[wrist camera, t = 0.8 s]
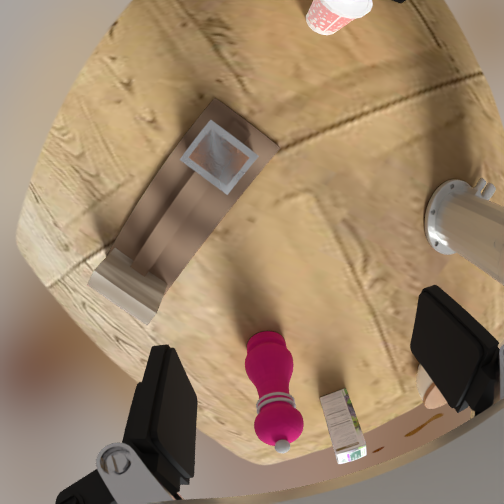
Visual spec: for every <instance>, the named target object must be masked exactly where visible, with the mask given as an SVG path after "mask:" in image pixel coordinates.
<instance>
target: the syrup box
mask: <svg viewBox="0 0 504 504" xmlns="http://www.w3.org/2000/svg"><path fill="white" fill-rule="evenodd" d="M320 401H321V405H322V408H323V412H324V416H325V419H326V423H327V427H328V430H329V434H330V437H331V441H332V445H333V448H334V451H335V455H336V459H337V462H338V464H342V463H346V462H350V461H353V460H356V459H359V458H361V457H363V456H365V455H366V442H365V439H364V436H363V433H362V431H361V428H360V425H359V422H358V419H357V417H356V414H355V411H354V408H353V406H352V403H351V400H350V398H349V395H348V392H347V390H346V389H345V388H344V389H342V390H339V391H336V392H333V393H331V394H328V395H325V396H323V397H320Z"/></svg>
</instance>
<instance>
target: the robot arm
mask: <svg viewBox="0 0 504 504" xmlns="http://www.w3.org/2000/svg"><path fill="white" fill-rule="evenodd" d="M485 185H486V181H485V180H484V179H483V178H480V179H479V181H478V183H477V185H476V186H475V187H473V188H472V187H471V186H470V185H469V184H468V183H466V182H464V181H461V180H457V179H452V180H448V181H446V182H444V183H443V184H441V185H440V186H439V187H438V188H437V189H436V191H435V192H434V193H433V195H432V197H431V199H430V201H429V203H428V206H427V210H426V214H425V233H426V237H427V240H428V242H429V244H430V245H431V247H433V248H434V249H435V250H436V251H438V252H439V253H441V254H445V255H450V254H454V253H458V254H459V255H461V256H462V257H464V258H465V259H467V260H468V261H470V262H471V263H473V264H474V265H476V266H477V267H478V268H480V269H481V270H483V271H484V272H485V273H487V274H488V275H490V276H491V277H492V278H494V279H495V280H497V281H498V282H499V283H501V284H502V285H503V286H504V207H503V206H501V205H499V204H496V203H494V202H491V201H489V199H490V198H491V197H492V195H493V194H494V192H495V190H496V188H495V187H494V185H493V184H491V183H487V185H486V186H485ZM484 186H485V188H484ZM483 188H484V190H483V192H482V194H481V193H480V192H481V190H482V189H483ZM498 344H499V342H498V341H497V340H496V339H495V338H494V337H493V336H492V335H491V334H490V333H489V332H488V331H487V330H486V329H485V328H484V327H483V326H482V325H481V324H480V323H479V322H478V321H477V320H475V319H474V318H473V317H472V316H471V315H470V314H469V313H468V312H467V311H466V310H465V309H464V308H462V307H461V306H460V305H459V304H458V303H457V302H456V301H455V300H453V299H452V298H451V297H450V296H449V295H448V294H447V293H445V292H444V291H443V290H442V289H441V288H440V287H438V286H437V285H433V286H430V287H427V288H424V289H423V290H422V292H421V294H420V295H419V299H418V306H417V312H416V318H415V323H414V329H413V334H412V339H411V344H410V348H411V351H412V353H413V355H414V356H415V357H416V359H417V360H418V361H419V363H420V364H421V365H422V367H423V368H424V370H425V371H426V372H427V374H428V375H429V377H430V378H431V379H432V381H433V382H434V384H435V385H436V387H437V388H438V390H439V391H440V392H441V394H442V395H443V397H444V398H445V400H446V401H447V403H448V404H449V406H450V407H451V408H455V409H456V411H457V413H459V412H460V411H462V410H464V409H466V408H467V407H468V406H470V408H471V416H470V420H469V421H467V422H466V423H464V424H462V425H460V426H459V427H457V428H455V429H453V430H452V431H450V432H448V433H447V434H444V435H443V436H441V437H439V438H437V439H435V440H433V441H431V442H429V443H427V444H425V445H423V446H421V447H418V448H416V449H415V450H412V451H410V452H408V453H405V454H403V455H401V456H398V457H396V458H393V459H391V460H389V461H386V462H383V463H381V464H378V465H376V466H373V467H370V468H367V469H364V470H361V471H358V472H355V473H352V474H349V475H345V476H342V477H338V478H335V479H331V480H327V481H324V482H320V483H315V484H311V485H307V486H302V487H298V488H292V489H287V490H282V491H276V492H269V493H263V494H254V495H246V496H237V497H226V498H210V499H190V500H185V499H184V498H183V497H182V496H181V495H180V494H179V493H178V492H179V491H180V485H181V484H182V485H183V484H184V485H189V479H190V478H192V477H194V465H195V440H196V420H197V396H196V393H195V391H194V389H193V387H192V385H191V383H190V381H189V379H188V377H187V375H186V372H185V370H184V368H183V366H182V364H181V361H180V359H179V357H178V355H177V352H176V350H175V349H174V348H170V346H169V345H159V346H153V347H152V348H151V352H150V355H149V359H148V362H147V366H146V369H145V373H144V377H143V380H142V382H139V383H138V384H137V386H136V390H135V393H134V397H133V401H132V405H131V408H130V413H129V416H128V420H127V424H126V428H125V433H124V437H123V441H122V443H112V444H109V445H107V446H105V447H104V448H103V449H102V450H101V451H100V452H99V454H98V456H97V459H96V466H97V469H96V470H95V471H93V472H91V473H90V474H88V475H87V476H85V477H83V478H82V479H80V480H79V481H77V482H76V483H74V484H72V485H71V486H69V487H68V488H66V489H64V490H63V491H62V492H60V493H59V495H58V496H57V499H56V504H504V345H503V346H502V347H501V348H500V349H499V348H498Z"/></svg>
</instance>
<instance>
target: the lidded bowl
mask: <svg viewBox="0 0 504 504" xmlns="http://www.w3.org/2000/svg"><path fill="white" fill-rule="evenodd" d="M416 386H417V389H418V392H419V395H420V397H421V399H422V400H423V403H424V405H425V406H426V407H427V408H430V409H433V408H437V407H440V406H442V405H444V404H446V403H447V401H446V400H445V398H444V397H443V395H442V394H441V392H440V391H439V390H438V388H437V387H436V385H435V384H434V382H433V381H432V379H431V378H430V377H429V375H428V374H427V372H426V371H425V370H424V368H423V367H422V365H421V364H419V366H418V372H417V376H416Z"/></svg>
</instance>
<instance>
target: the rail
mask: <svg viewBox="0 0 504 504" xmlns="http://www.w3.org/2000/svg"><path fill="white" fill-rule="evenodd" d="M210 120H212V121H213V122H215V123H216V124H217V125H219V126H220V127H221V128H223V129H224V130H226V131H227V132H228V133H230V134H231V135H232V136H234V137H235V138H236V139H237V140H239V141H240V142H241V143H243V144H244V145H245V146H247V147H248V148H249V149H250V150H252V151H253V152H254V153H256V154H257V155H258V156H259V157H258V158H257V159H256V160H255V161H254V163H253V164H252V165H251V166H250V168H249V169H248V170H247V171H246V172H245V174H244V175H243V176H242V177H241V179H240V180H239V181H238V182H237V184H236V185H235V186H234V187H233V189H232V190H231V191H230V192H229V194H228V195H227V194H225V193H224V192H223V191H221V190H220V189H219V188H217V187H216V186H214V185H213V184H212V183H210V182H209V181H208V180H206V179H205V178H204V177H202V176H201V175H200V174H198V173H197V172H196V171H194V170H193V169H191V168H190V167H189V166H187V165H186V164H185V163H183V162H182V161H180V158H181V157H182V156H183V154H184V153H185V152H186V150H187V149H188V148H189V146H190V145H191V144H192V142H193V141H194V140H195V138H196V137H197V136H198V135H199V133H200V132H201V131H202V130H203V128H204V127H205V126H206V124H207V123H208V122H209V121H210ZM279 149H280V147H279V146H277V145H276V144H275V143H274V142H272V141H271V140H270V139H269V138H267V137H266V136H265V135H264V134H262V133H261V132H260V131H259V130H257V129H256V128H255V127H254V126H252V125H251V124H250V123H248V122H247V121H246V120H244V119H243V118H242V117H240V116H239V115H238V114H236V113H235V112H234V111H232V110H231V109H230V108H228V107H227V106H226V105H224V104H223V103H221V102H220V101H219V100H217V99H216V98H214V99H213V100H212V102H211V103H210V104H209V105H208V106H207V108H206V109H205V110H204V111H203V113H202V114H201V115H200V116H199V118H198V119H197V120H196V121H195V123H194V124H193V125H192V126H191V128H190V129H189V130H188V132H187V133H186V134H185V136H184V137H183V138H182V139H181V141H180V142H179V143H178V145H177V146H176V148H175V149H174V150H173V152H172V153H171V154H170V156H169V157H168V159H167V160H166V161H165V163H164V164H163V166H162V167H161V169H160V170H159V171H158V173H157V174H156V176H155V177H154V179H153V180H152V182H151V183H150V185H149V186H148V188H147V189H146V191H145V192H144V194H143V196H142V197H141V199H140V200H139V202H138V203H137V205H136V207H135V208H134V210H133V211H132V213H131V215H130V216H129V218H128V220H127V221H126V223H125V225H124V226H123V228H122V230H121V231H120V233H119V235H118V237H117V238H116V240H115V242H114V244H113V245H112V247H111V249H110V251H109V253H108V254H107V256H106V258H105V259H104V260H103V261H102V262H101V263H100V264H99V265H98V267H97V268H96V269H95V270H94V271H93V273H92V275H91V277H90V280H89V282H88V284H87V285H89V286H90V287H91V288H93V289H94V290H96V291H97V292H98V293H100V294H101V295H103V296H104V297H105V298H107V299H108V300H110V301H111V302H113V303H114V304H115V305H117V306H118V307H120V308H121V309H123V310H124V311H126V312H127V313H129V314H130V315H132V316H133V317H135V318H137V319H138V320H140V321H141V322H143V323H144V324H146V325H148V324H149V323H150V321H151V320H152V319H153V317H154V316H155V315H156V313H157V311H158V308H159V305H160V303H161V300H162V298H163V296H164V295H165V293H166V292H167V291H168V289H169V288H170V287H171V285H172V284H173V283H174V281H175V280H176V279H177V277H178V276H179V275H180V273H181V272H182V271H183V269H184V268H185V267H186V265H187V264H188V263H189V261H190V260H191V259H192V257H193V256H194V255H195V253H196V252H197V251H198V249H199V248H200V247H201V246H202V244H203V243H204V242H205V240H206V239H207V238H208V236H209V235H210V234H211V233H212V231H213V230H214V229H215V227H216V226H217V225H218V224H219V222H220V221H221V220H222V219H223V217H224V216H225V215H226V214H227V212H228V211H229V210H230V208H231V207H232V206H233V205H234V203H235V202H236V201H237V200H238V199H239V197H240V196H241V195H242V194H243V192H244V191H245V190H246V189H247V187H248V186H249V185H250V184H251V183H252V181H253V180H254V179H255V178H256V176H257V175H258V174H259V173H260V172H261V170H262V169H263V168H264V167H265V166H266V164H267V163H268V162H269V161H270V160H271V158H272V157H273V156H274V155H275V154H276V153H277V151H278V150H279Z"/></svg>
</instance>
